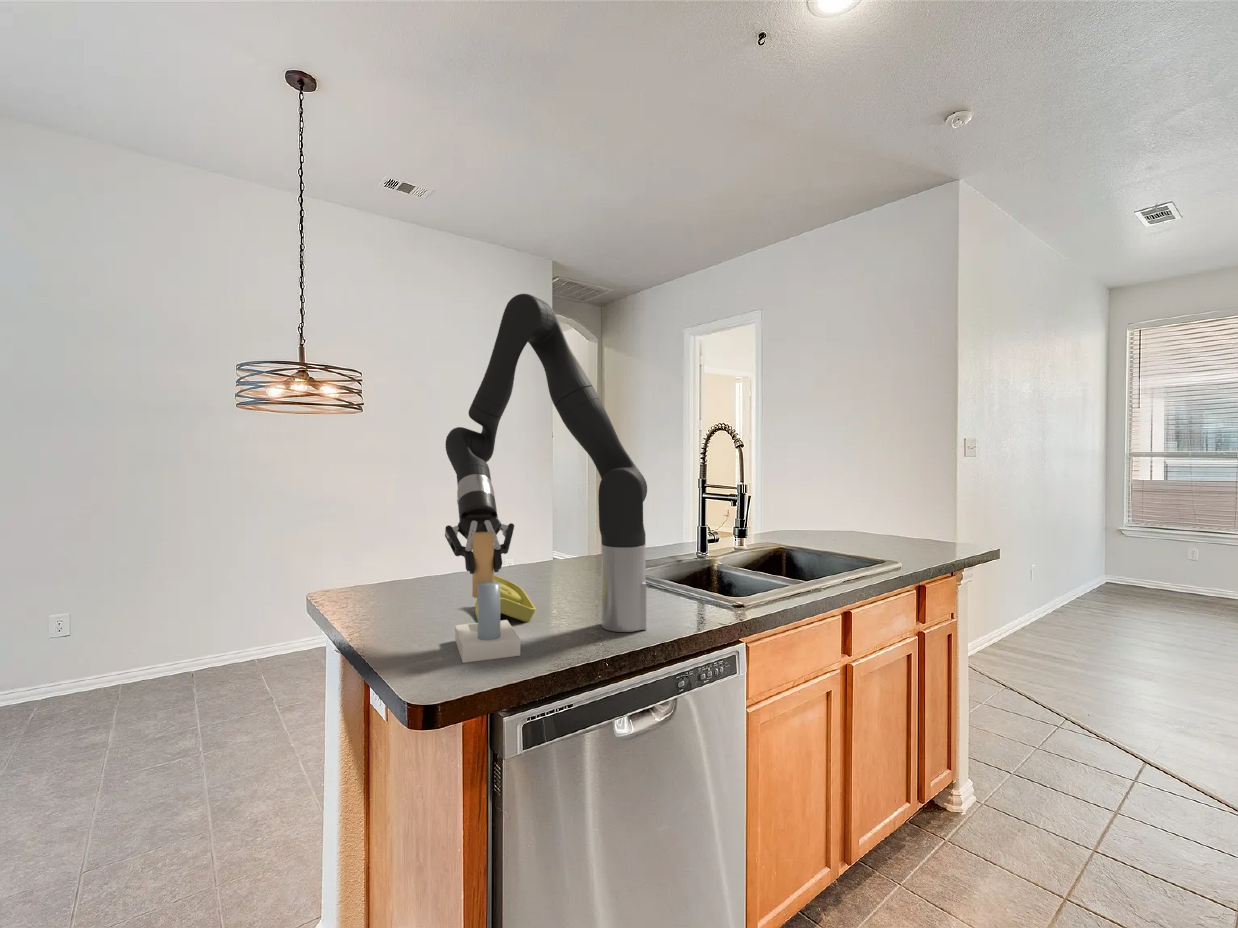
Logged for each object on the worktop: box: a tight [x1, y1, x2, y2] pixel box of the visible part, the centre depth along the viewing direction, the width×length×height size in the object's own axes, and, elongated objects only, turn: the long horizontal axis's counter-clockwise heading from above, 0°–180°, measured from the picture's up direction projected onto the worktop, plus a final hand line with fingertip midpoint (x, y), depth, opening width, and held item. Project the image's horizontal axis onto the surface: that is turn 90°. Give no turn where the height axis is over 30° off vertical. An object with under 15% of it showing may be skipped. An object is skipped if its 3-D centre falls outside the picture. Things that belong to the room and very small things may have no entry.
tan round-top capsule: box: [471, 532, 495, 599], centre depth 111 cm, size 4×4×12 cm
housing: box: [454, 582, 521, 664], centre depth 108 cm, size 13×10×13 cm
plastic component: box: [474, 574, 537, 623], centre depth 132 cm, size 20×7×10 cm
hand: (484, 570), depth 109 cm, fingers closed on tan round-top capsule, 4 cm apart
